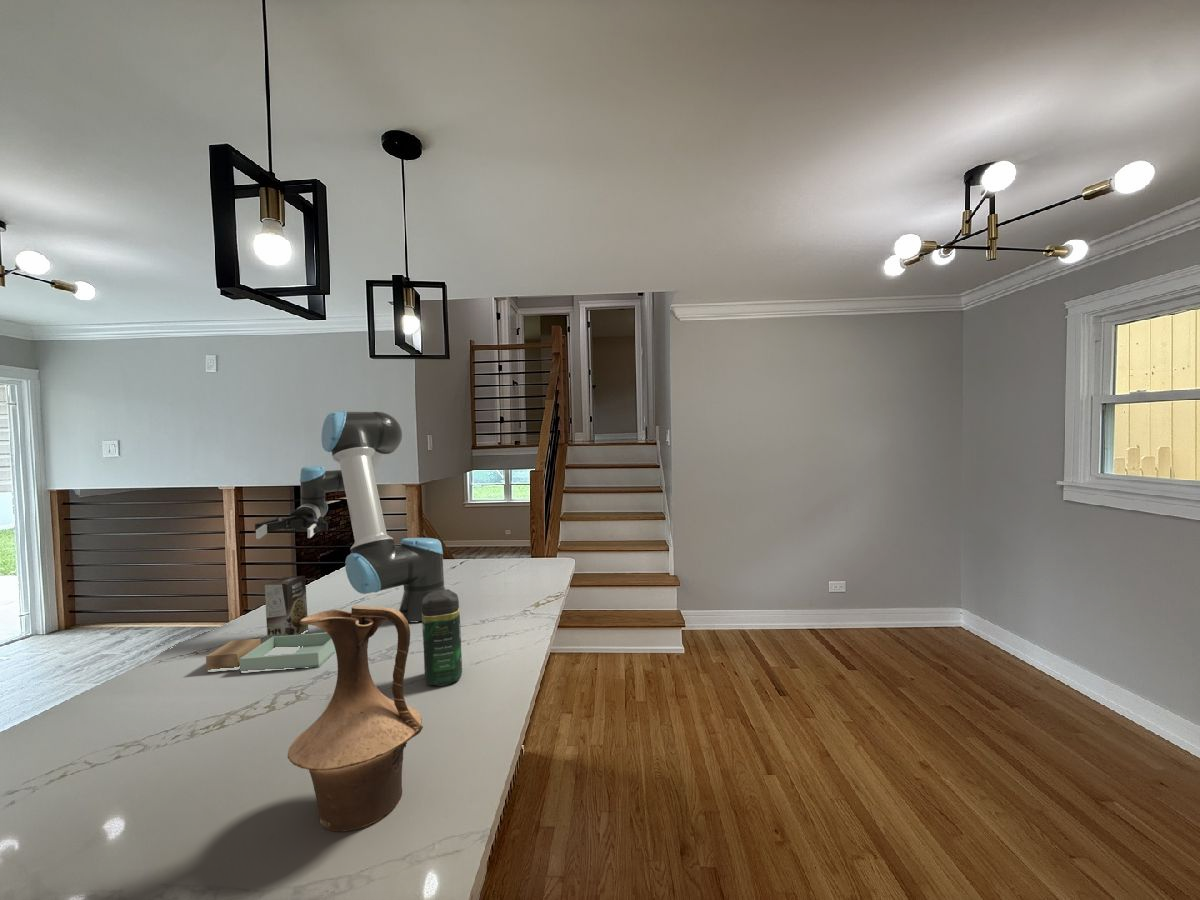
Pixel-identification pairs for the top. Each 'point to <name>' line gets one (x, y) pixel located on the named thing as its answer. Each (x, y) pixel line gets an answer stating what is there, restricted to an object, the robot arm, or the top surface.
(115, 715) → the top surface
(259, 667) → the tray
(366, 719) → the pitcher
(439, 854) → the top surface
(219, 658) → the walnut ledge
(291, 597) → the coffee box
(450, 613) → the coffee jar
